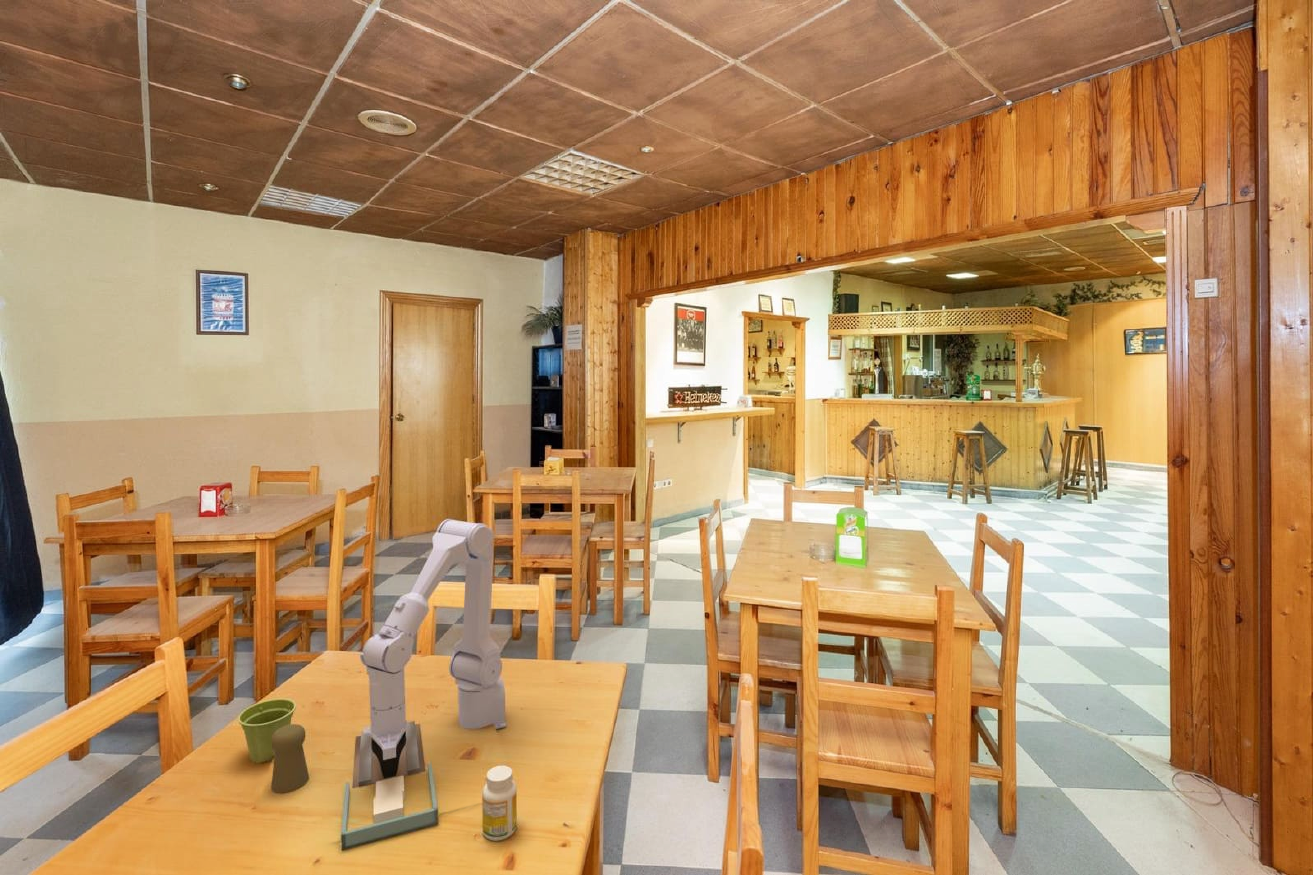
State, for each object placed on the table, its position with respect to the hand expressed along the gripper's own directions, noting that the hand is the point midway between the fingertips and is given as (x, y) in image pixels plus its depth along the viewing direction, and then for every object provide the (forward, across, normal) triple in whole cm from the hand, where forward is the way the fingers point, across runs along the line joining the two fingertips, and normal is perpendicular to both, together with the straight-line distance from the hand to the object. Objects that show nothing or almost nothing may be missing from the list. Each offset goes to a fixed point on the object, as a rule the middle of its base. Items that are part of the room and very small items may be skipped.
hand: (389, 774), depth 109 cm
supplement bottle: (+2, +19, +16) cm, 25 cm away
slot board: (+2, -8, 0) cm, 9 cm away
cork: (+2, -6, -16) cm, 17 cm away
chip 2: (+1, +9, 0) cm, 9 cm away
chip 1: (+1, +5, 0) cm, 5 cm away
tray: (+2, +7, 0) cm, 7 cm away
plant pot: (+2, -19, -21) cm, 28 cm away
